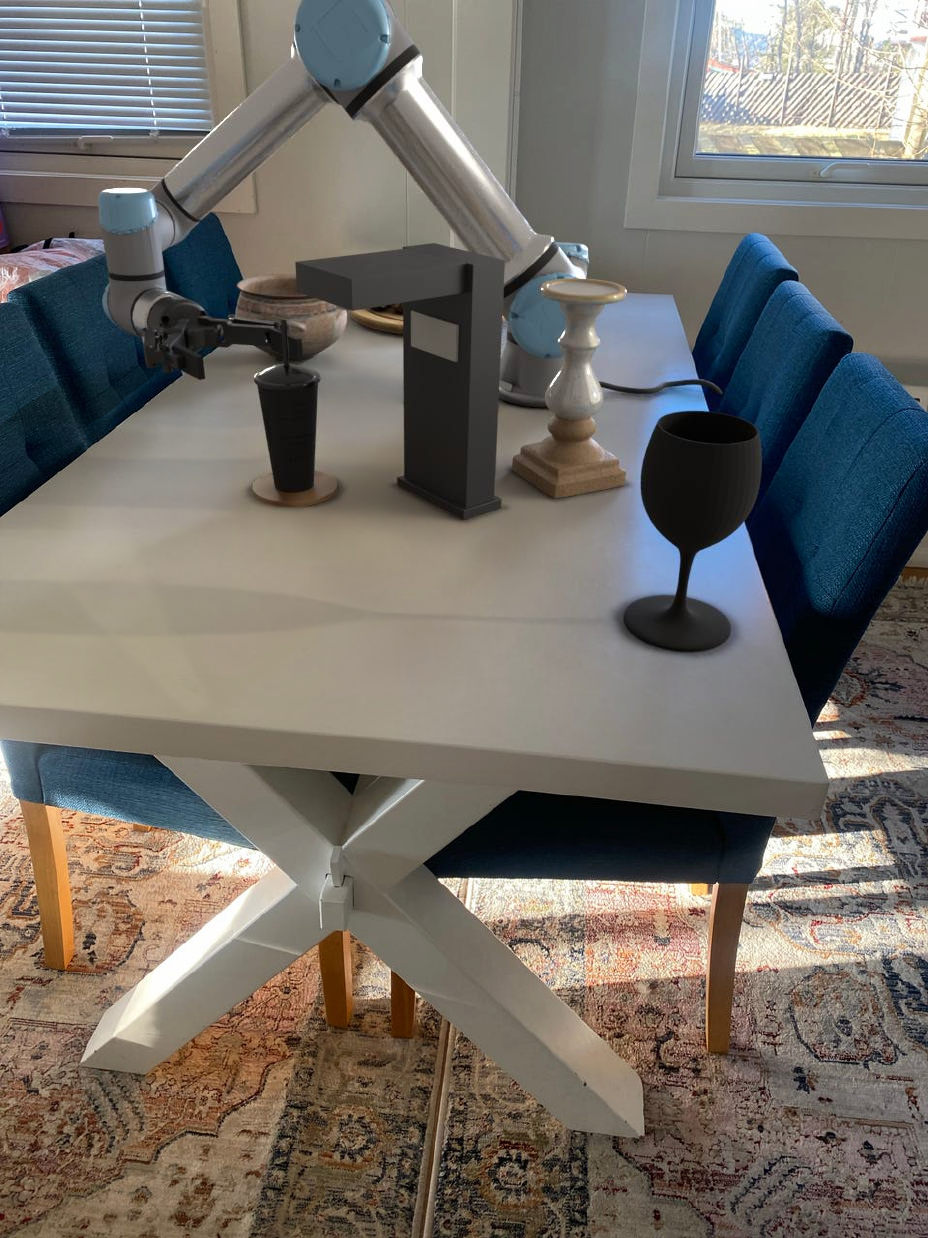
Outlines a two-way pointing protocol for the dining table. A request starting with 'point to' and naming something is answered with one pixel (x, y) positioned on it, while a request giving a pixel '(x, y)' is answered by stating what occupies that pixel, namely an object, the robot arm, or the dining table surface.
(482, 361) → the coffee maker
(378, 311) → the wooden plate
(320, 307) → the cooking pot
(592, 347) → the candle holder
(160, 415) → the dining table surface
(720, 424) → the wine glass
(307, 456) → the drinking cup
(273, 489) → the coaster
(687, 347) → the dining table surface
